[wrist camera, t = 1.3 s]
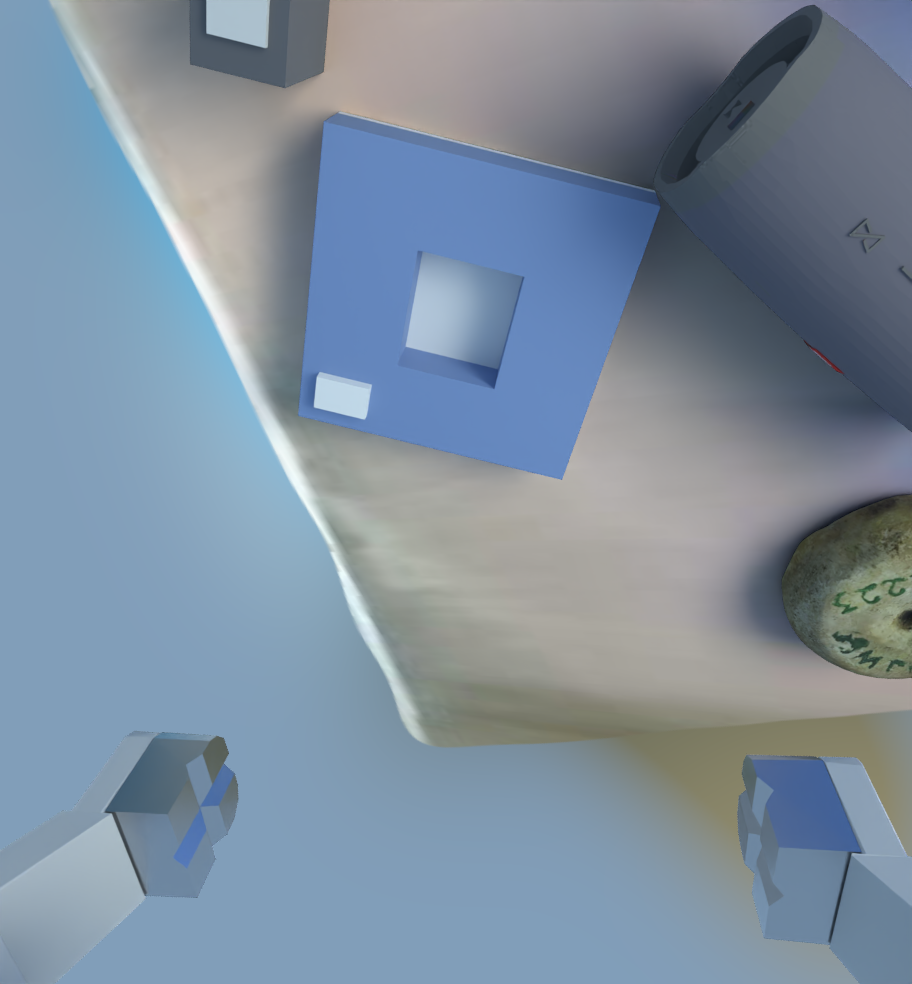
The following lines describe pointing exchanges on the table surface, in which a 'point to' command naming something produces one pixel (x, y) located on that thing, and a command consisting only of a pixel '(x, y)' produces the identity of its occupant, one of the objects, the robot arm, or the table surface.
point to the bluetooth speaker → (811, 195)
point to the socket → (463, 292)
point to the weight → (856, 590)
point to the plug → (260, 38)
